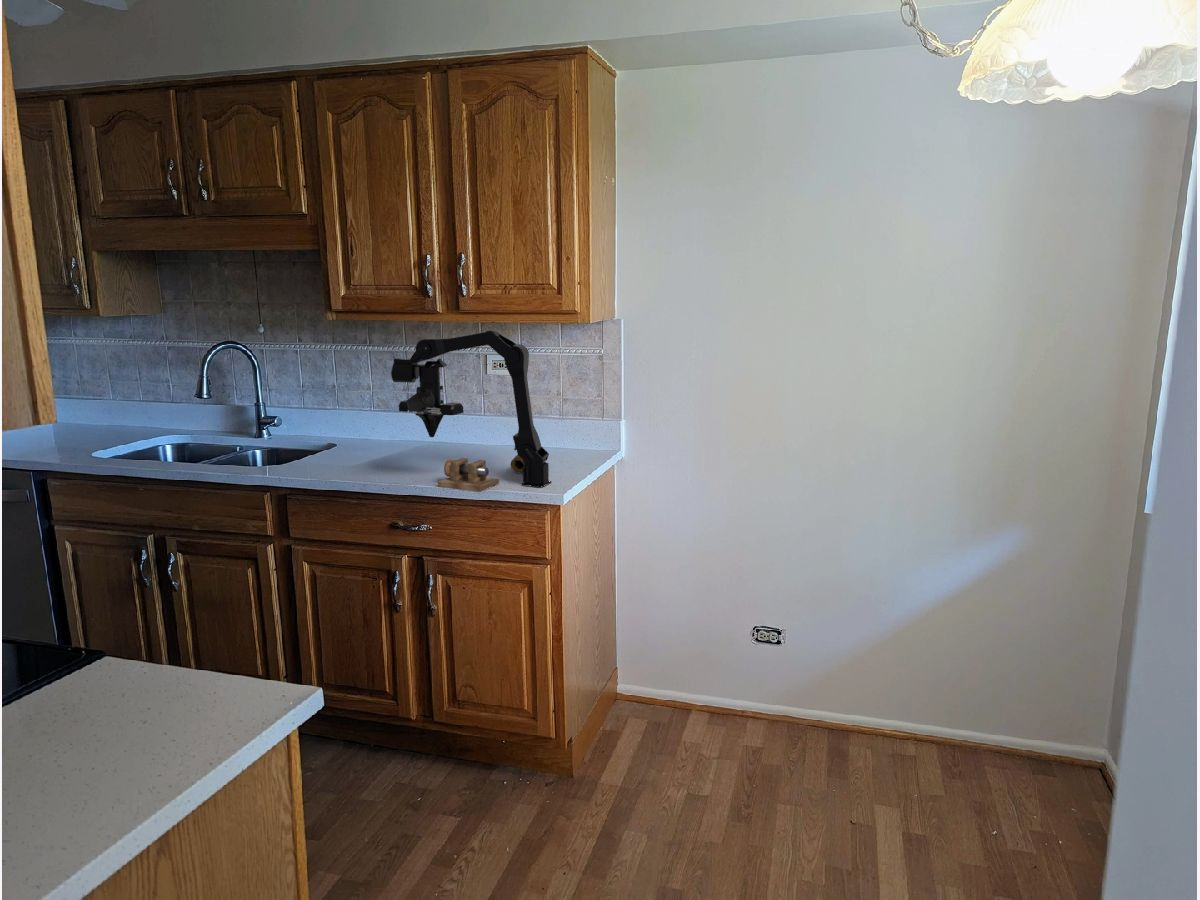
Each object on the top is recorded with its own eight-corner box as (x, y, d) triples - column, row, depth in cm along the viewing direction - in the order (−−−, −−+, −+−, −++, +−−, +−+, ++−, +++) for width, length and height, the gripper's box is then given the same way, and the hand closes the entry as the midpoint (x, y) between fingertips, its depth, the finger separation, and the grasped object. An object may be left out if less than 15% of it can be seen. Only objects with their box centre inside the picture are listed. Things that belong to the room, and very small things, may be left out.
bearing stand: (499, 484, 245) (498, 460, 243) (480, 491, 236) (479, 467, 234) (457, 479, 250) (457, 455, 249) (437, 486, 242) (437, 462, 240)
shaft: (491, 478, 242) (490, 461, 242) (481, 482, 238) (481, 464, 237) (454, 474, 248) (453, 457, 247) (444, 478, 243) (443, 460, 242)
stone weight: (525, 464, 271) (525, 443, 270) (546, 465, 269) (546, 444, 268) (509, 474, 257) (508, 452, 256) (531, 476, 255) (530, 454, 254)
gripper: (385, 384, 239) (387, 439, 242) (440, 388, 231) (442, 444, 234) (409, 380, 249) (411, 432, 252) (463, 383, 241) (465, 437, 244)
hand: (431, 437), depth 245 cm, fingers closed
